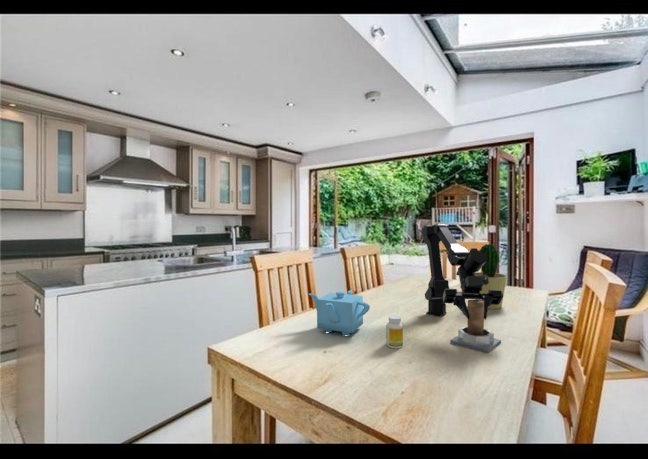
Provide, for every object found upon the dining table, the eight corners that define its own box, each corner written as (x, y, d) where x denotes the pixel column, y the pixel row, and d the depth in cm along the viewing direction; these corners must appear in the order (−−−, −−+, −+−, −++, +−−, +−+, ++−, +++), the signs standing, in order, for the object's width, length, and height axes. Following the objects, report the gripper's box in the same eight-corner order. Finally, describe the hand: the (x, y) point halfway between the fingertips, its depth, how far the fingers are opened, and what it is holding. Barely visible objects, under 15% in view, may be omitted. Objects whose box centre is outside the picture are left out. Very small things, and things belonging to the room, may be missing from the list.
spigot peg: (464, 336, 113) (465, 301, 112) (471, 333, 116) (471, 298, 116) (480, 340, 109) (480, 304, 109) (486, 336, 113) (486, 301, 112)
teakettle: (373, 335, 121) (373, 294, 121) (325, 342, 115) (324, 299, 114) (351, 320, 139) (351, 285, 138) (308, 326, 132) (307, 289, 132)
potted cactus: (507, 303, 163) (508, 242, 162) (505, 311, 150) (505, 244, 149) (473, 300, 171) (473, 241, 170) (468, 306, 158) (468, 243, 157)
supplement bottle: (383, 344, 112) (383, 316, 112) (396, 341, 115) (396, 313, 114) (393, 349, 108) (393, 320, 107) (406, 347, 110) (406, 318, 110)
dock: (450, 343, 113) (450, 331, 113) (465, 334, 121) (465, 323, 121) (487, 353, 104) (487, 340, 104) (501, 342, 113) (501, 331, 113)
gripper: (444, 265, 117) (451, 305, 107) (501, 266, 114) (514, 307, 104) (440, 283, 125) (446, 322, 115) (493, 284, 122) (504, 324, 112)
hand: (476, 318), depth 111 cm, fingers closed on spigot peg, 5 cm apart
